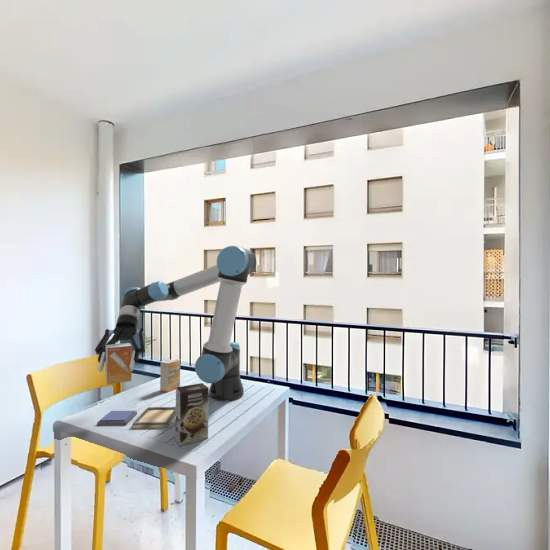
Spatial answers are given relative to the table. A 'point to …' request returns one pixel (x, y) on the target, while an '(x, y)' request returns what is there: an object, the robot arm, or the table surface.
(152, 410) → the board
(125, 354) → the small box
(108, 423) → the ink pad
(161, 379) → the supplement box
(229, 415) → the table surface
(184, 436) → the coffee box
